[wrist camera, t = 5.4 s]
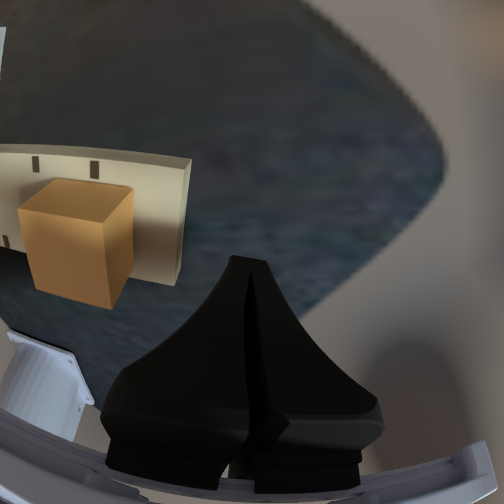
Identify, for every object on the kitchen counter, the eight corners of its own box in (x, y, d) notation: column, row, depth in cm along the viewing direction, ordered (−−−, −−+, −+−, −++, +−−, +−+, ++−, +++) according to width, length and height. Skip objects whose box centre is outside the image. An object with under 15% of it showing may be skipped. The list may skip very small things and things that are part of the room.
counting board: (180, 268, 16) (173, 287, 14) (-48, 218, 14) (-60, 228, 12) (191, 159, 13) (183, 170, 11) (-60, 146, 11) (-75, 154, 9)
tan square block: (134, 266, 14) (111, 309, 11) (65, 251, 13) (36, 289, 11) (133, 188, 11) (102, 223, 9) (56, 178, 11) (17, 208, 9)
